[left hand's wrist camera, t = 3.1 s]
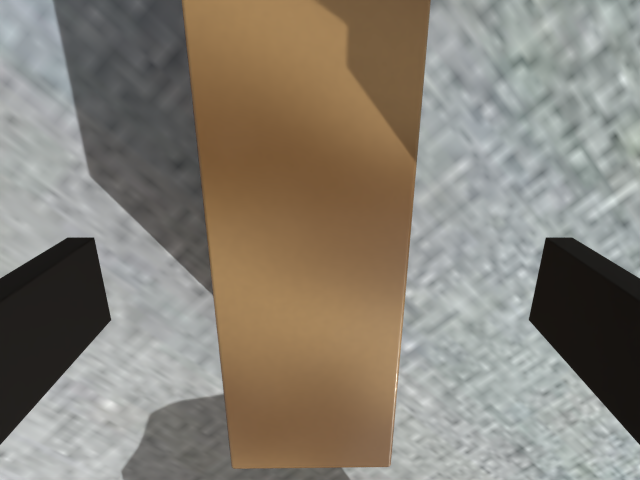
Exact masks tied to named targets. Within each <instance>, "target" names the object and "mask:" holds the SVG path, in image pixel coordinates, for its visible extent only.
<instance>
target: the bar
mask: <svg viewBox="0 0 640 480" xmlns="http://www.w3.org/2000/svg"><path fill="white" fill-rule="evenodd" d="M430 2H431V0H182V9H183V18H184V27H185V37H186V46H187V55H188V65H189V74H190V83H191V93H192V102H193V111H194V120H195V130H196V139H197V148H198V158H199V167H200V176H201V186H202V195H203V204H204V213H205V223H206V232H207V241H208V251H209V260H210V269H211V279H212V288H213V297H214V307H215V316H216V325H217V334H218V344H219V353H220V362H221V372H222V381H223V390H224V400H225V409H226V418H227V427H228V437H229V446H230V455H231V465H232V468H234V469H242V468H329V467H389V466H390V464H391V455H392V443H393V432H394V420H395V408H396V397H397V385H398V373H399V362H400V350H401V339H402V327H403V315H404V304H405V292H406V281H407V269H408V257H409V246H410V234H411V222H412V211H413V199H414V188H415V176H416V164H417V153H418V141H419V130H420V118H421V106H422V95H423V83H424V71H425V60H426V48H427V37H428V25H429V13H430Z"/></svg>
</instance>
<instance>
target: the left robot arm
mask: <svg viewBox="0 0 640 480" xmlns="http://www.w3.org/2000/svg"><path fill="white" fill-rule="evenodd" d="M110 321H111V317H110V312H109V307H108V302H107V297H106V293H105V288H104V283H103V278H102V273H101V268H100V264H99V259H98V254H97V249H96V244H95V240H94V238H66V239H65V240H63V241H61V242H60V243H58V244H56V245H55V246H53V247H51V248H50V249H48V250H47V251H45V252H43V253H42V254H40V255H38V256H37V257H35V258H33V259H32V260H30V261H28V262H27V263H25V264H23V265H22V266H20V267H18V268H17V269H15V270H14V271H12V272H10V273H9V274H7V275H5V276H4V277H2V278H0V444H1V443H2V442H3V441H4V440H5V439H6V438H7V437H8V435H9V434H10V433H11V432H12V431H13V430H14V429H15V428H16V426H17V425H18V424H19V423H20V422H21V421H22V420H23V419H24V417H25V416H26V415H27V414H28V413H29V412H30V411H31V410H32V408H33V407H34V406H35V405H36V404H37V403H38V402H39V401H40V399H41V398H42V397H43V396H44V395H45V394H46V393H47V392H48V390H49V389H50V388H51V387H52V386H53V385H54V384H55V383H56V381H57V380H58V379H59V378H60V377H61V376H62V375H63V374H64V372H65V371H66V370H67V369H68V368H69V367H70V366H71V365H72V363H73V362H74V361H75V360H76V359H77V358H78V357H79V356H80V354H81V353H82V352H83V351H84V350H85V349H86V348H87V347H88V345H89V344H90V343H91V342H92V341H93V340H94V339H95V338H96V336H97V335H98V334H99V333H100V332H101V331H102V330H103V329H104V327H105V326H106V325H107V324H108V323H109V322H110ZM529 321H530V322H531V323H532V324H533V325H534V326H535V327H536V329H537V330H538V331H539V332H540V333H541V334H542V335H543V336H544V338H545V339H546V340H547V341H548V342H549V343H550V344H551V345H552V347H553V348H554V349H555V350H556V351H557V352H558V353H559V354H560V356H561V357H562V358H563V359H564V360H565V361H566V362H567V363H568V365H569V366H570V367H571V368H572V369H573V370H574V371H575V372H576V374H577V375H578V376H579V377H580V378H581V379H582V380H583V381H584V383H585V384H586V385H587V386H588V387H589V388H590V389H591V390H592V392H593V393H594V394H595V395H596V396H597V397H598V398H599V399H600V401H601V402H602V403H603V404H604V405H605V406H606V407H607V408H608V410H609V411H610V412H611V413H612V414H613V415H614V416H615V417H616V419H617V420H618V421H619V422H620V423H621V424H622V425H623V426H624V428H625V429H626V430H627V431H628V432H629V433H630V434H631V435H632V437H633V438H634V439H635V440H636V441H637V442H638V443H639V444H640V278H638V277H636V276H635V275H633V274H631V273H630V272H628V271H626V270H625V269H623V268H622V267H620V266H618V265H617V264H615V263H613V262H612V261H610V260H608V259H607V258H605V257H603V256H602V255H600V254H598V253H597V252H595V251H593V250H592V249H590V248H589V247H587V246H585V245H584V244H582V243H580V242H579V241H577V240H575V239H574V238H546V240H545V244H544V249H543V254H542V259H541V264H540V268H539V273H538V278H537V283H536V288H535V293H534V297H533V302H532V307H531V312H530V317H529Z"/></svg>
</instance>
